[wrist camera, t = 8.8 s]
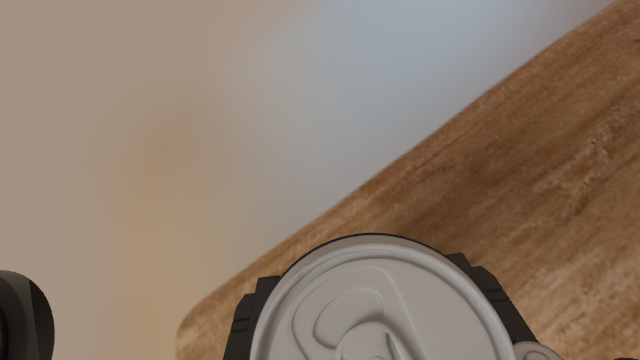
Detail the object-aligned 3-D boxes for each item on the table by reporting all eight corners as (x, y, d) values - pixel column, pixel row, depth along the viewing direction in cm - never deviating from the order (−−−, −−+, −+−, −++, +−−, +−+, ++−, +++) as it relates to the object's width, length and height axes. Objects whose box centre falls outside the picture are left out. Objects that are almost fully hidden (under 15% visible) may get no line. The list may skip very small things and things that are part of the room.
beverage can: (380, 245, 19) (422, 172, 7) (443, 346, 17) (629, 459, 6) (288, 300, 18) (181, 314, 7) (344, 409, 16) (323, 675, 5)
